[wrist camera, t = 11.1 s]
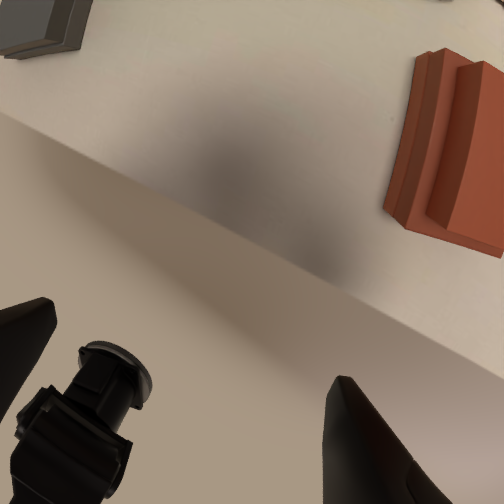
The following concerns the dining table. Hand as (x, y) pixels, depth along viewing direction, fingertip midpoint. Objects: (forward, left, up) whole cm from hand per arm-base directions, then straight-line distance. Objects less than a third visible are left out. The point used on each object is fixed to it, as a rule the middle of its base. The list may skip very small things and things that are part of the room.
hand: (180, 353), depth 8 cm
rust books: (+8, -12, -12) cm, 19 cm away
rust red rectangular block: (+8, -12, -8) cm, 16 cm away
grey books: (+15, +17, -12) cm, 26 cm away
